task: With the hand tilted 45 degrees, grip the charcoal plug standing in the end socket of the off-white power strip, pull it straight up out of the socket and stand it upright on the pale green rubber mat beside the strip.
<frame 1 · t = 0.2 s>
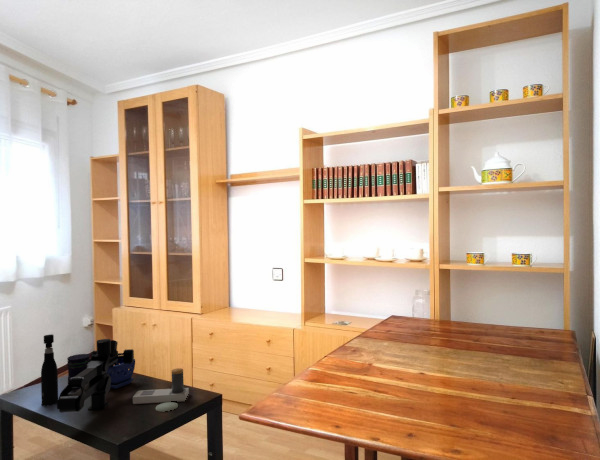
hand: (119, 352, 211), 17 cm above the table, tool horizontal, fingers open, 9 cm apart
wine bottle: (50, 403, 192), on the table
power strip: (161, 399, 193), on the table
storage jar: (79, 387, 212), on the table
rubber mat: (166, 407, 183), on the table
plug: (178, 398, 194), resting in power strip
flower pot: (116, 385, 214), on the table
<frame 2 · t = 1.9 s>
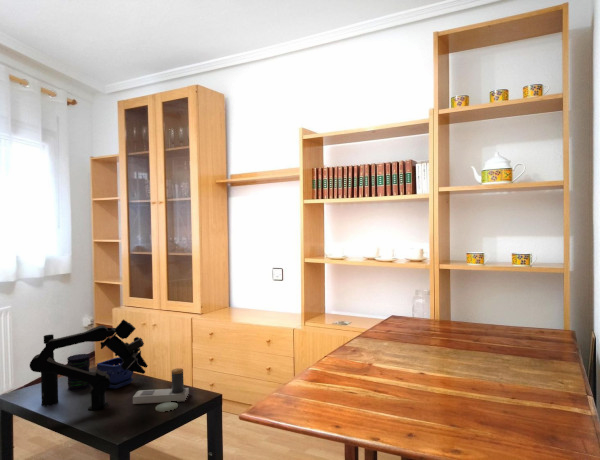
hand: (145, 369, 192), 14 cm above the table, tool tilted 45°, fingers open, 9 cm apart
nothing on the table moved.
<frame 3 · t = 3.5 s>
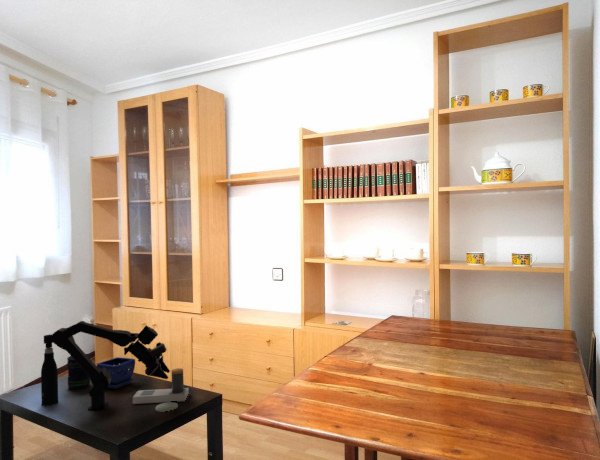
hand: (168, 375, 193), 11 cm above the table, tool tilted 45°, fingers open, 9 cm apart
nothing on the table moved.
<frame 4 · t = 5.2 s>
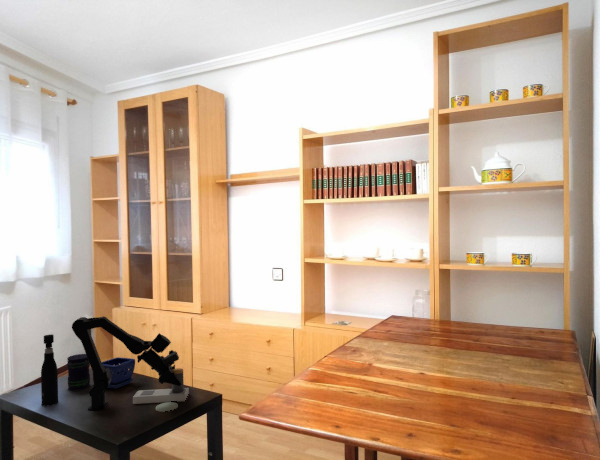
hand: (180, 383, 194), 7 cm above the table, tool tilted 45°, fingers closed on plug, 5 cm apart
plug: (178, 398, 194), resting in power strip, touching gripper
everything else where it was.
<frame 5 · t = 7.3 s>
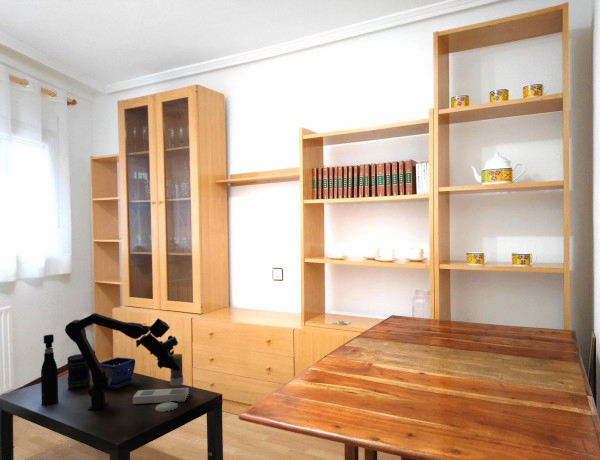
hand: (179, 368, 194), 13 cm above the table, tool tilted 45°, fingers closed on plug, 5 cm apart
plug: (176, 383, 193), point 7 cm above the table, touching gripper
everything else where it was.
when the fingers open (8 cm above the table, at t = 9.6 s): plug drops 1 cm, resting on rubber mat.
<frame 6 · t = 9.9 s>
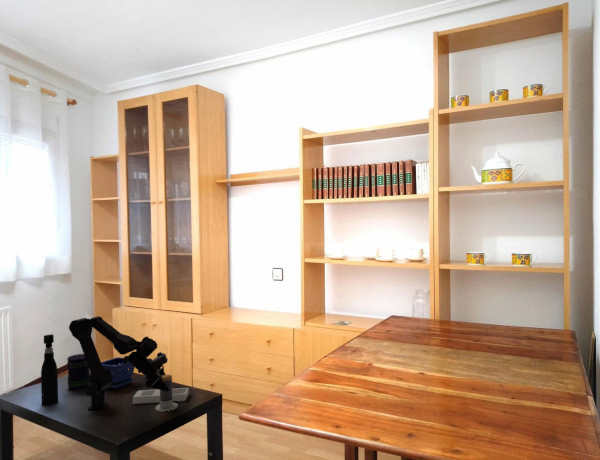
hand: (169, 387, 183), 9 cm above the table, tool tilted 45°, fingers open, 8 cm apart
plug: (166, 406, 183), point 1 cm above the table, touching rubber mat
everything else where it was.
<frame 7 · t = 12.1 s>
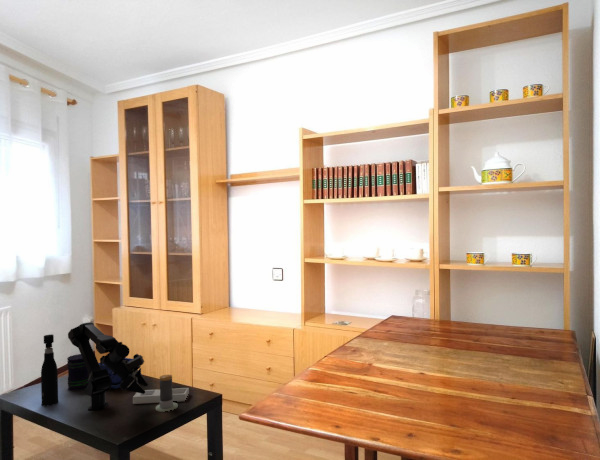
hand: (146, 389, 181), 9 cm above the table, tool tilted 45°, fingers open, 9 cm apart
nothing on the table moved.
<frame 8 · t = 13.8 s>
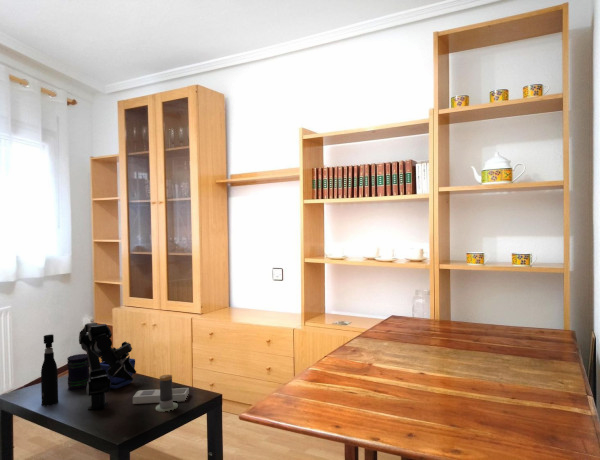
hand: (134, 376, 183), 14 cm above the table, tool tilted 45°, fingers open, 9 cm apart
nothing on the table moved.
at the end: plug 0.1 cm off-centre on the rubber mat, point 0.6 cm above the rubber mat's base; plug tilted 0°; the gripper is holding nothing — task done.
